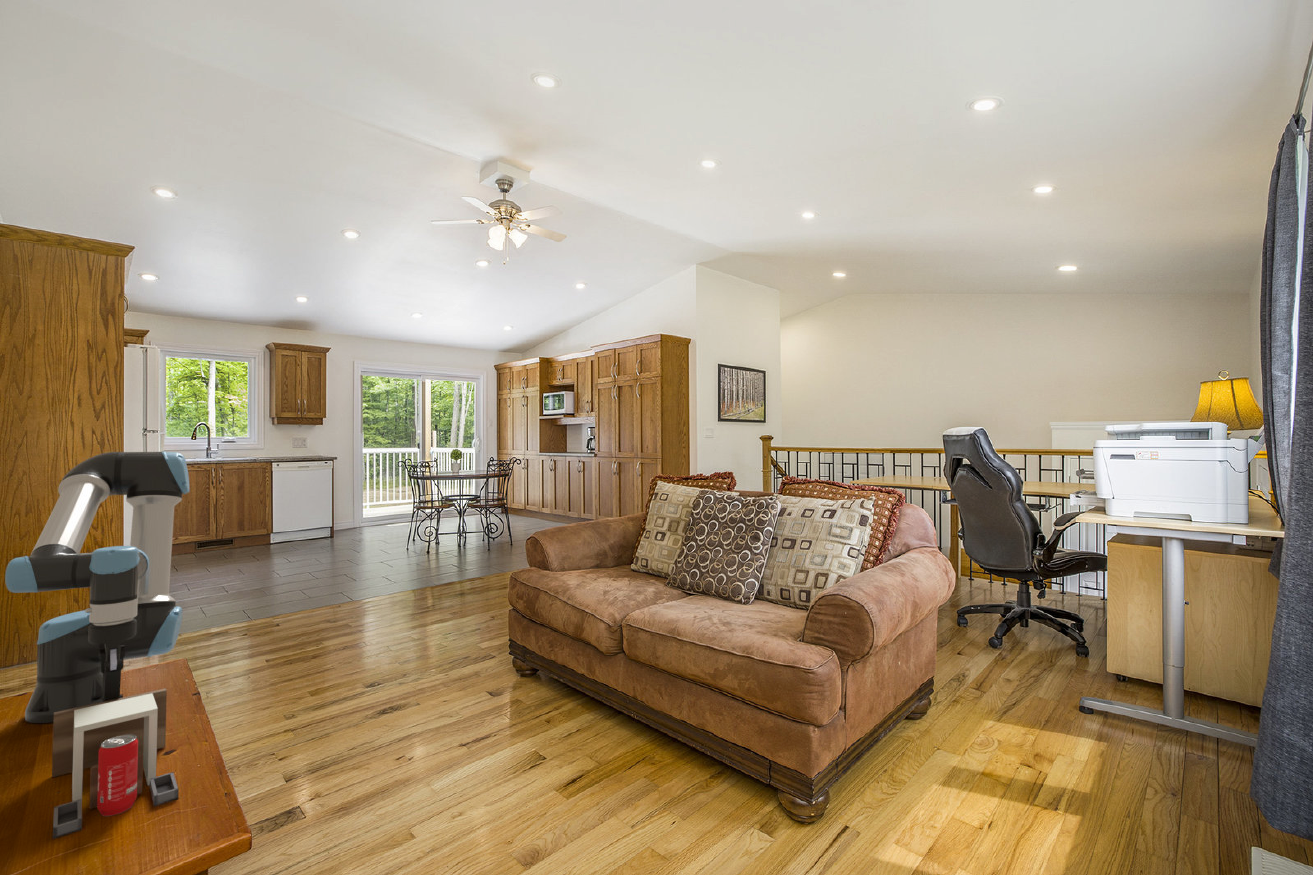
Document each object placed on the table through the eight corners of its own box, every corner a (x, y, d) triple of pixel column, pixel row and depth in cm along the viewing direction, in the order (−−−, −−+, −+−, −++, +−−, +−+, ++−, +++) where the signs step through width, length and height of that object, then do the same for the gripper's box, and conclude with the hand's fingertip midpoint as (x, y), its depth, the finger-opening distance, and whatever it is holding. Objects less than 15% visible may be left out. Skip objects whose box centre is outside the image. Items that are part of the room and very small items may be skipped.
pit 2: (149, 788, 112) (149, 778, 112) (172, 781, 114) (173, 771, 114) (154, 806, 106) (154, 796, 106) (178, 798, 108) (178, 788, 108)
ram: (52, 774, 116) (53, 712, 116) (164, 744, 128) (165, 688, 128) (49, 821, 101) (51, 750, 101) (176, 782, 113) (178, 719, 113)
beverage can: (112, 819, 102) (114, 749, 102) (89, 815, 103) (91, 746, 104) (144, 802, 107) (145, 735, 107) (121, 798, 108) (123, 732, 109)
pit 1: (53, 817, 103) (54, 807, 103) (81, 809, 105) (81, 799, 105) (52, 839, 97) (53, 828, 97) (81, 829, 99) (82, 819, 99)
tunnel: (72, 785, 112) (74, 710, 113) (150, 763, 120) (152, 693, 121) (72, 808, 105) (74, 727, 106) (155, 783, 113) (157, 708, 114)
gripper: (88, 618, 127) (84, 729, 126) (89, 631, 118) (85, 751, 117) (134, 611, 132) (131, 718, 132) (139, 623, 123) (135, 738, 122)
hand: (109, 733), depth 124 cm, fingers closed
